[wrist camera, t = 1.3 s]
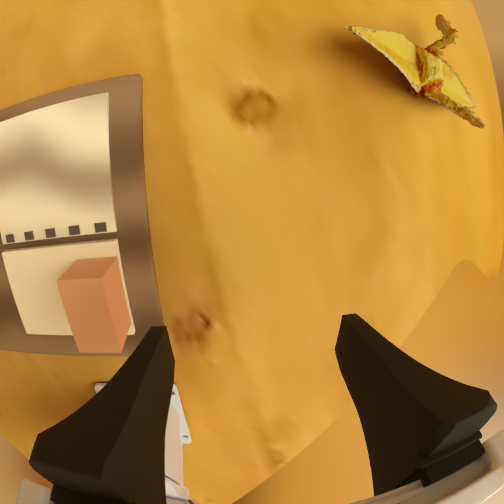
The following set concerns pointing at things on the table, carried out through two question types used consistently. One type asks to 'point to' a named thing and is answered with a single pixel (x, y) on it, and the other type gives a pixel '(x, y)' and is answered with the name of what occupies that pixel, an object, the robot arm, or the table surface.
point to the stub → (72, 293)
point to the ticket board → (77, 195)
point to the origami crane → (425, 67)
